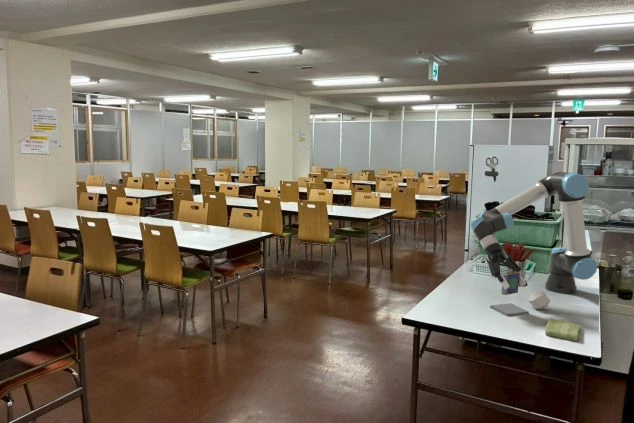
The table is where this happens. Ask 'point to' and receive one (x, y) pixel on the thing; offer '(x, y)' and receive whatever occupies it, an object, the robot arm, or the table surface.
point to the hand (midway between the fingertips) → (515, 286)
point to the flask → (511, 282)
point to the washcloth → (563, 330)
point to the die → (539, 300)
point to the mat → (509, 309)
